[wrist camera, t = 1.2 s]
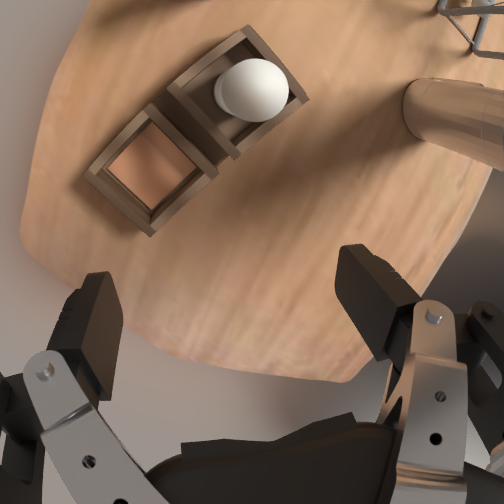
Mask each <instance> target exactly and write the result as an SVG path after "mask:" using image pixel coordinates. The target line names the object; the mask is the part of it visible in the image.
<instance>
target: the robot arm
mask: <svg viewBox="0 0 504 504" xmlns="http://www.w3.org/2000/svg"><path fill="white" fill-rule="evenodd" d="M403 116H404V120H405V123H406V125H407V127H408V129H409V130H410V132H411V133H412V134H413V135H414V136H416V137H417V138H420V139H422V140H425V141H428V142H431V143H434V144H437V145H439V146H442V147H444V148H447V149H450V150H452V151H455V152H458V153H460V154H463V155H465V156H468V157H470V158H473V159H475V160H477V161H480V162H482V163H484V164H487V165H489V166H491V167H493V168H496V169H498V170H500V171H502V172H504V91H503V90H498V89H493V88H488V87H484V85H482V84H479V83H473V82H466V81H459V80H451V79H442V78H434V79H418V80H415V81H414V82H413V83H411V84H410V86H409V87H408V88H407V90H406V92H405V95H404V98H403ZM335 292H336V295H337V298H338V300H339V301H340V303H341V304H342V306H343V307H344V309H345V311H346V312H347V314H348V315H349V317H350V318H351V320H352V322H353V323H354V325H355V326H356V328H357V330H358V331H359V333H360V334H361V336H362V338H363V339H364V341H365V342H366V344H367V346H368V347H369V349H370V351H371V352H372V354H373V355H374V357H375V359H376V360H377V362H378V361H382V360H385V359H389V358H390V359H391V361H392V364H391V366H390V369H389V374H388V379H387V383H386V388H385V392H384V397H383V401H382V405H381V409H380V413H379V415H378V418H377V420H376V422H375V423H372V422H356V420H355V418H354V416H353V413H352V412H349V413H346V414H343V415H339V416H335V417H332V418H328V419H324V420H321V421H317V422H313V423H311V424H309V425H307V426H305V427H303V428H301V429H299V430H297V431H295V432H293V433H291V434H288V435H286V436H284V437H282V438H280V439H278V440H275V441H270V442H265V441H263V442H262V441H245V440H231V439H219V440H210V441H199V442H188V443H187V442H186V443H181V452H182V454H179V455H176V456H173V457H171V458H169V459H166V460H164V461H163V462H161V463H159V464H157V465H156V466H155V467H153V468H152V469H150V470H149V471H148V472H146V471H145V470H144V469H143V468H142V467H141V465H140V464H139V463H138V462H137V461H136V460H135V459H134V457H133V456H132V455H131V454H130V453H129V451H128V450H127V449H126V448H125V446H124V445H123V444H122V443H121V441H120V440H119V439H118V437H117V436H116V435H115V433H114V432H113V431H112V429H111V428H110V427H109V425H108V424H107V422H106V421H105V420H104V418H103V417H102V415H101V414H100V412H99V411H98V405H99V401H111V397H112V389H113V382H114V375H115V368H116V361H117V355H118V349H119V343H120V338H121V332H122V327H123V312H122V308H121V305H120V302H119V299H118V295H117V292H116V289H115V286H114V283H113V279H112V276H111V274H110V273H109V272H108V271H106V272H97V273H88V274H87V276H86V278H85V280H84V282H83V285H82V287H81V289H76V290H75V291H74V292H73V293H72V294H71V295H70V296H69V297H68V298H67V300H66V302H65V304H64V307H63V309H62V312H61V313H60V316H59V320H58V321H57V323H56V325H55V328H54V330H53V333H52V336H51V338H50V341H49V343H48V346H47V349H46V351H42V352H40V353H38V354H36V355H34V356H33V357H32V358H31V359H30V360H29V361H28V362H27V364H26V365H25V368H24V370H23V373H20V374H16V375H12V376H9V377H5V378H4V376H3V375H2V374H1V372H0V436H1V431H3V432H4V433H6V440H5V446H4V451H3V458H2V465H0V504H42V483H43V468H44V467H43V466H44V456H45V448H46V450H47V452H48V454H49V456H50V458H51V460H52V462H53V464H54V465H55V467H56V469H57V471H58V473H59V474H60V476H61V478H62V480H63V482H64V483H65V485H66V487H67V488H68V490H69V491H70V493H71V495H72V496H73V498H74V499H75V501H76V503H77V504H504V314H503V313H502V311H501V310H500V309H499V308H498V307H496V306H495V305H493V304H491V303H489V302H486V301H477V302H475V303H474V304H473V305H472V307H471V310H470V312H469V314H453V313H452V312H451V310H450V309H448V307H446V306H445V305H443V304H442V303H439V302H437V301H432V300H423V299H422V298H421V297H420V296H419V295H418V294H417V293H416V292H415V291H414V290H413V289H412V287H411V286H410V285H409V284H408V283H407V282H406V281H405V280H404V279H402V277H401V276H400V275H399V274H398V273H397V272H395V269H394V268H393V267H392V266H391V265H390V264H389V263H388V262H387V261H385V260H383V259H381V258H379V257H378V256H376V255H373V254H372V253H371V252H370V251H369V250H368V249H367V248H366V247H365V246H364V245H363V244H354V245H345V246H342V247H341V248H340V251H339V257H338V264H337V271H336V277H335ZM487 354H488V355H489V356H490V358H491V359H492V360H493V362H494V363H495V365H496V366H497V367H498V369H499V370H500V372H501V374H502V383H501V386H500V387H499V388H498V389H497V388H496V386H495V385H494V383H493V382H492V380H491V379H490V377H489V376H488V374H487V373H486V372H485V370H484V369H483V367H482V366H481V363H482V361H483V360H484V358H485V357H486V355H487ZM467 414H468V416H469V418H470V419H471V421H472V423H473V425H474V427H475V428H476V430H477V432H478V434H479V436H480V438H481V439H482V441H483V443H484V445H485V447H486V449H487V451H488V453H489V455H490V464H488V465H487V467H486V470H484V469H482V468H479V467H477V466H474V465H472V464H469V463H467V462H465V461H464V457H465V447H466V434H467V433H466V432H467Z"/></svg>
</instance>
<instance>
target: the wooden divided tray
mask: <svg viewBox="0 0 504 504" xmlns="http://www.w3.org/2000/svg"><path fill="white" fill-rule="evenodd" d="M166 89H167V90H166V91H165V92H164V93H163V94H162V95H160V96H159V97H158V98H157V99H156V100H155V101H154V102H151V103H149V104H148V105H147V106H146V107H145V108H144V109H143V110H142V111H141V112H140V113H139V114H138V115H137V116H136V117H135V118H134V119H133V120H132V121H131V122H130V123H129V124H128V125H127V126H126V127H125V128H124V129H123V130H122V131H121V132H120V133H119V135H118V136H117V137H116V138H115V139H114V140H113V141H112V142H111V143H110V144H109V145H108V147H107V148H106V149H105V150H104V151H103V152H102V153H101V154H100V156H99V157H98V158H97V159H96V160H95V161H94V163H93V164H92V165H91V166H90V167H89V169H88V170H87V171H86V172H85V173H84V175H83V177H84V178H85V179H86V180H87V181H88V182H89V183H90V184H91V185H92V186H94V187H95V188H96V189H97V190H98V191H99V192H100V193H101V194H102V195H103V196H104V197H105V198H106V199H108V200H109V201H110V202H111V203H112V204H113V205H114V206H115V207H116V208H117V209H119V210H120V211H121V212H122V213H123V214H124V215H125V216H126V217H127V218H129V219H130V220H131V221H132V222H133V223H134V224H135V225H136V226H138V227H139V228H140V229H141V230H142V231H143V232H144V233H146V234H147V235H148V236H149V237H151V236H152V235H153V234H154V233H155V232H157V231H158V230H159V229H160V228H161V227H162V226H163V225H164V224H165V223H166V222H167V221H168V220H169V219H170V218H171V217H172V216H173V215H174V214H175V213H176V212H177V211H178V210H179V209H181V208H182V207H183V206H184V205H185V204H186V203H187V202H188V201H189V200H190V199H191V198H192V197H193V196H195V195H196V194H197V193H198V192H199V191H200V190H201V189H202V188H203V187H204V186H206V185H207V184H208V183H209V182H210V181H211V180H212V179H213V178H215V177H216V176H217V175H218V174H219V172H218V170H217V166H218V165H219V164H220V163H221V162H222V161H223V160H225V159H226V158H227V157H228V156H229V155H230V157H231V158H232V159H233V160H235V159H236V158H238V157H239V156H240V155H241V154H242V153H243V152H245V151H246V150H247V149H248V148H249V147H251V146H252V145H253V144H254V143H255V142H257V141H258V140H259V139H260V138H262V137H263V136H264V135H265V134H266V133H268V132H269V131H270V130H271V129H273V128H274V127H275V126H276V125H278V124H279V123H280V122H281V121H283V120H284V119H285V118H286V117H288V116H289V115H290V114H292V113H293V112H294V111H295V110H297V109H298V108H299V107H301V106H302V105H303V104H305V103H306V102H307V101H309V100H310V99H309V98H308V96H307V95H306V92H305V91H304V90H303V88H302V87H301V86H300V84H299V83H298V82H297V81H296V79H295V78H294V77H293V75H292V74H291V73H290V72H289V70H288V69H287V68H286V67H285V65H284V64H283V63H282V62H281V61H280V59H279V58H278V57H277V56H276V55H275V53H274V52H273V51H272V50H271V49H270V47H269V46H268V45H267V44H266V43H265V42H264V40H263V39H262V38H261V37H260V36H259V35H258V34H257V33H256V31H255V30H254V29H253V28H252V27H251V26H250V25H246V26H245V27H243V28H242V29H240V30H239V31H237V32H236V33H234V34H233V35H232V36H230V37H229V38H227V39H226V40H225V41H223V42H222V43H221V44H219V45H218V46H217V47H215V48H214V49H213V50H211V51H210V52H209V53H207V54H206V55H205V56H203V57H202V58H201V59H200V60H198V61H197V62H196V63H195V64H193V65H192V66H191V67H190V68H189V69H187V70H186V71H185V72H184V73H183V74H181V75H180V76H179V77H178V78H177V79H176V80H174V81H173V82H172V83H171V84H170V85H169V86H168V87H167V88H166Z"/></svg>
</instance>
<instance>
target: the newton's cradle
mask: <svg viewBox="0 0 504 504" xmlns="http://www.w3.org/2000/svg"><path fill="white" fill-rule="evenodd" d="M447 1H448V0H440V1H439V3H438V6H437V10H438V12H439V13H440V14H441V15H443V16H449V17H450V18H451V19H452V20H453V21H454V22H455V24H456V25H457V26H458V27H459V28H460V29H461V31H462V32H463V33H464V34H465V35H466V37H467V38H468V39H469V40H470V41H471V43H472V44H473V45H472V50H473V52H474V54H475V55H477V56H478V57H484V58H494V59H502V60H504V53H501V52H491V51H479V50H478V48H479V45H480V42H481V39H482V36H483V33H484V30H485V27H486V24H487V20H488V18H490V17H491V16H492V15H493V14H504V6H493V5H498V4H502V3H504V2H502V3H497V4H495V3H496V0H472V7H463V8H452V9H445V6H446V4H447ZM472 14H477V15H478V16H480V17H482V18H481V22H480V25H479V28H478V31H477V33H476V36H475V39H474V42H473V41H472V40H471V38H470V37H469V36H468V35H467V34H466V32H465V31H464V30H463V29H462V28H461V26H460V25H459V24H458V23H457V22H456V21H455V19H454V18H453V17H452V16H455V15H472Z"/></svg>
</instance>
